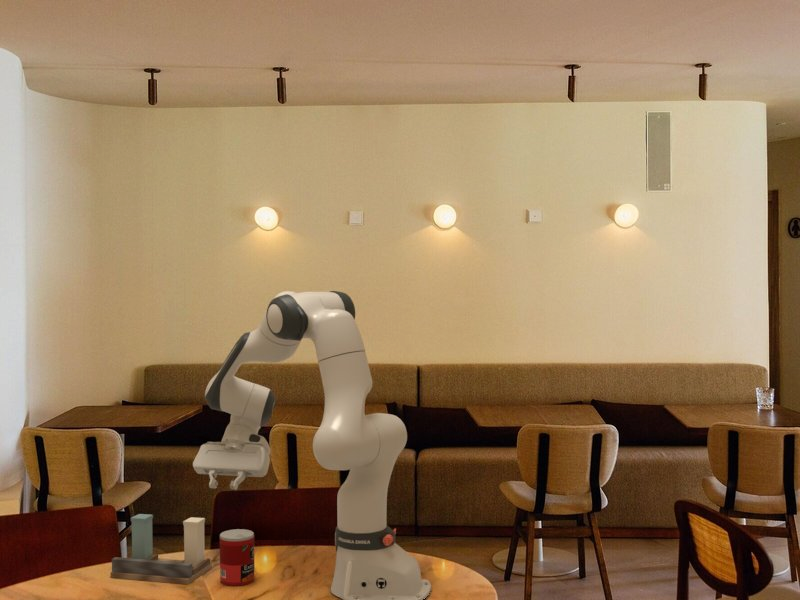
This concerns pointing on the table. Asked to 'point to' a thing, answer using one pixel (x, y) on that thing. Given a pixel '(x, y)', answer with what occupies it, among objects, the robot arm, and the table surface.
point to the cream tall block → (194, 541)
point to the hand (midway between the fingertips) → (222, 487)
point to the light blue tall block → (142, 536)
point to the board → (159, 578)
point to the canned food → (237, 557)
